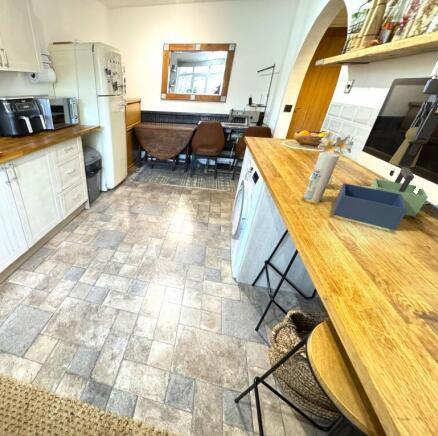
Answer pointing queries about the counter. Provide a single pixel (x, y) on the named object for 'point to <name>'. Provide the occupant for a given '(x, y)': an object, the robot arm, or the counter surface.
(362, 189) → the slate bin
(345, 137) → the flower vase
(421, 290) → the counter surface
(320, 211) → the counter surface
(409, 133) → the olive pepper mill
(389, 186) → the sage bin
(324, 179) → the spray can
